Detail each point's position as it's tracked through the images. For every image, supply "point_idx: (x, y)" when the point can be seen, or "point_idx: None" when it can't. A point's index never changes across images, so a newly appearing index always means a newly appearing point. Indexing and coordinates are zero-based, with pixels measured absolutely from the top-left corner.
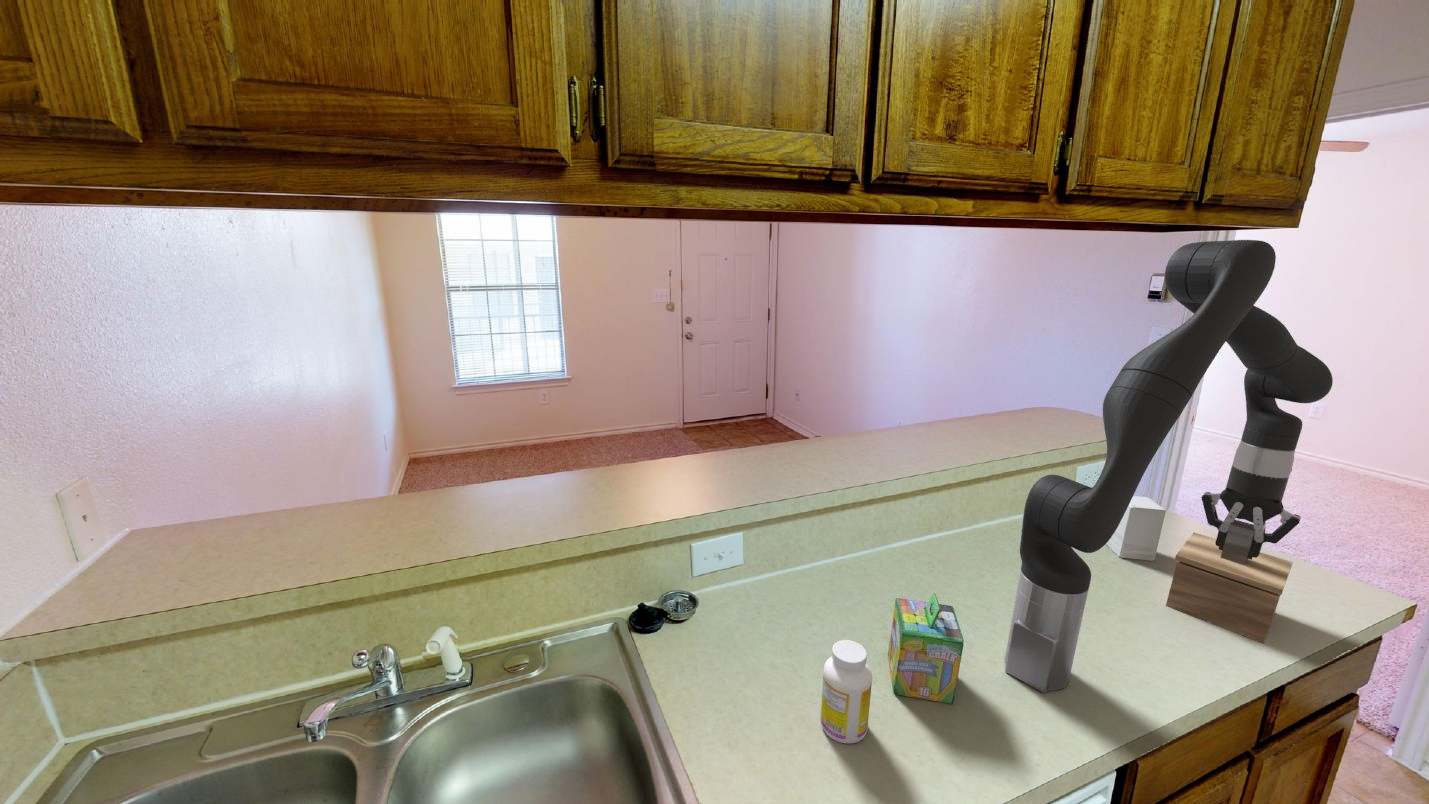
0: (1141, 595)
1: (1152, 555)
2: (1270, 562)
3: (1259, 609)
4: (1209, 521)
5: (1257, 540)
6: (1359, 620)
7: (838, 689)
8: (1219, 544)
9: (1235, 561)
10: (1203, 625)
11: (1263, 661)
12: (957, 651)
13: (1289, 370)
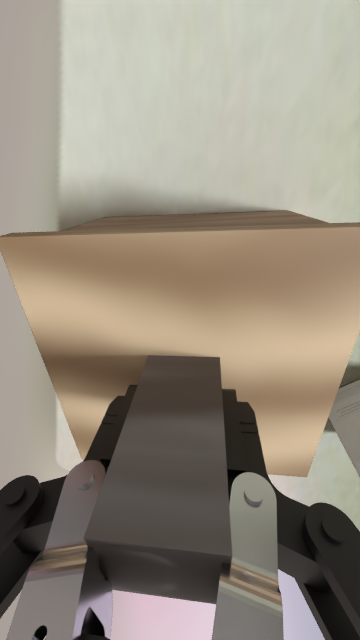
0: (345, 213)
1: None
2: None
3: (96, 227)
4: (350, 536)
5: (89, 469)
6: (61, 414)
7: None
8: (238, 409)
9: (174, 358)
10: (205, 183)
11: (79, 118)
12: None
13: None
